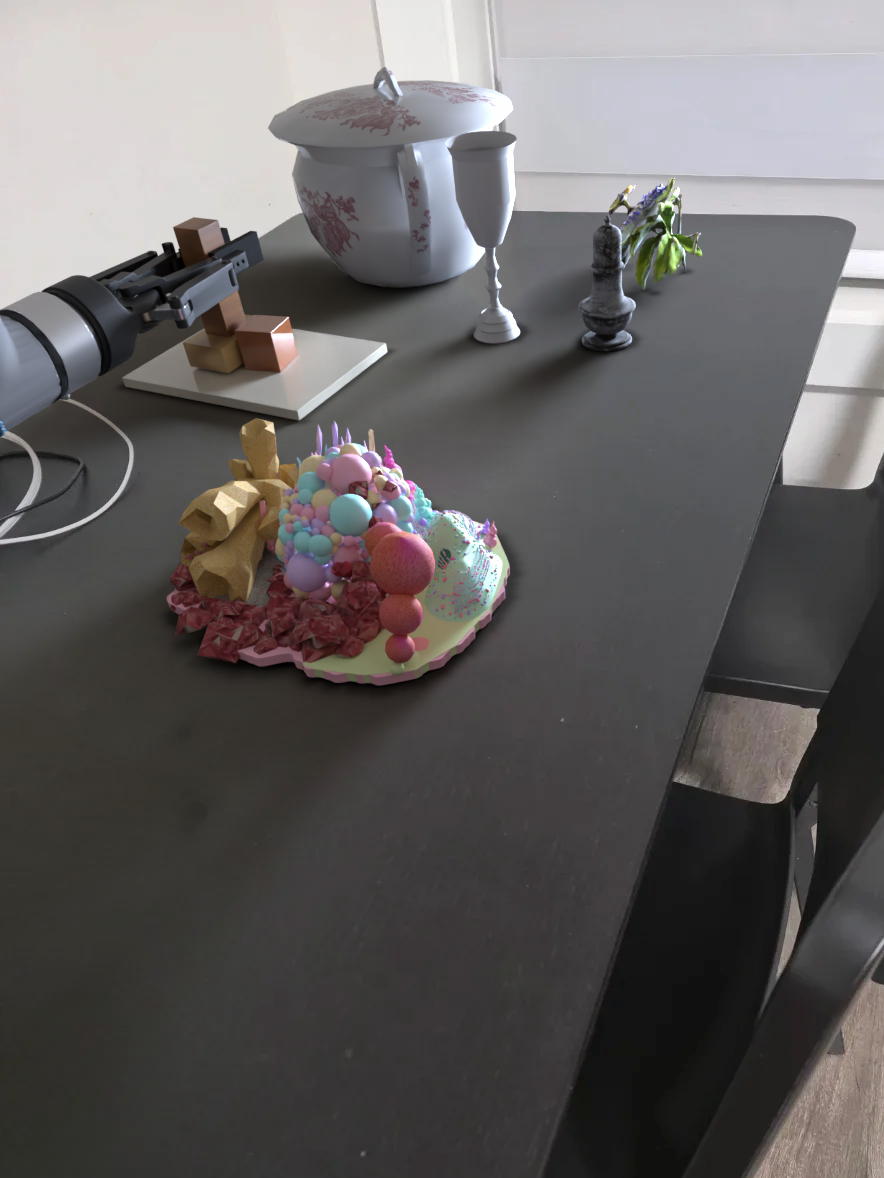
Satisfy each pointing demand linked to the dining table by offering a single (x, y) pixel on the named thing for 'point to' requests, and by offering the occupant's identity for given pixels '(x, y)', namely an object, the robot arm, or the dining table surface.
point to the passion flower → (648, 220)
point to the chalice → (487, 212)
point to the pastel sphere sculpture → (333, 566)
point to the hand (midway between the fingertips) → (242, 244)
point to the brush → (220, 322)
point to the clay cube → (266, 343)
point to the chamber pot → (388, 175)
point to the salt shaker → (607, 294)
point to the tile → (264, 376)
